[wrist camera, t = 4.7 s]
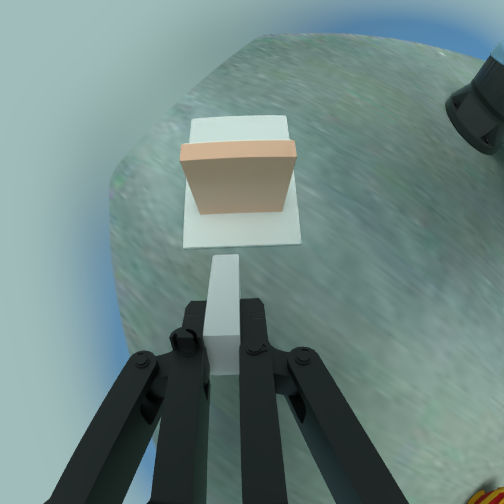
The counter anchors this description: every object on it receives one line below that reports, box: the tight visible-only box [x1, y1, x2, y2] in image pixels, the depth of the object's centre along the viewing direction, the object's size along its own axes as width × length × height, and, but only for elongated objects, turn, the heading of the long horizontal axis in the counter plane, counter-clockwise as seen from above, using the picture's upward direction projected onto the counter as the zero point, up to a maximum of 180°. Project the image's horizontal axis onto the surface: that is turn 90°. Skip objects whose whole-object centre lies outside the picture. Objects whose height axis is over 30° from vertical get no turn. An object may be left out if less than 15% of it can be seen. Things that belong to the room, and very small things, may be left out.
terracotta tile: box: [180, 139, 297, 215], centre depth 30 cm, size 2×10×12 cm, turn 92°
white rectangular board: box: [183, 115, 301, 249], centre depth 37 cm, size 20×14×1 cm
